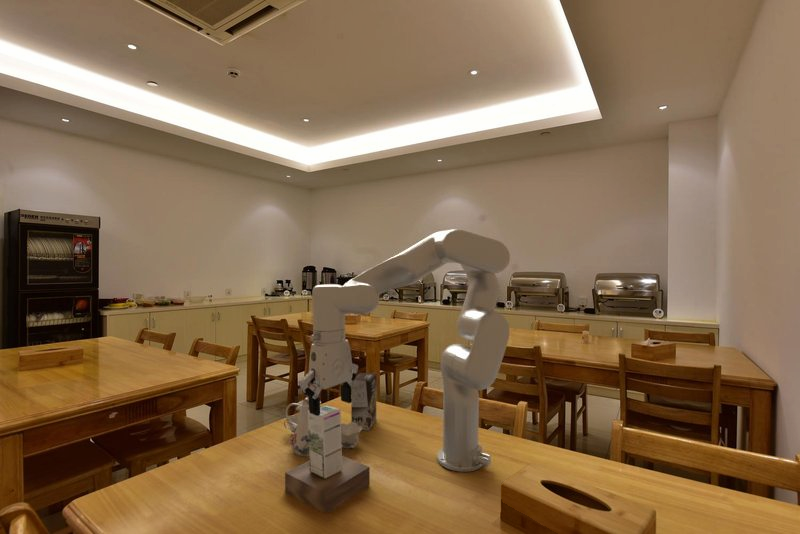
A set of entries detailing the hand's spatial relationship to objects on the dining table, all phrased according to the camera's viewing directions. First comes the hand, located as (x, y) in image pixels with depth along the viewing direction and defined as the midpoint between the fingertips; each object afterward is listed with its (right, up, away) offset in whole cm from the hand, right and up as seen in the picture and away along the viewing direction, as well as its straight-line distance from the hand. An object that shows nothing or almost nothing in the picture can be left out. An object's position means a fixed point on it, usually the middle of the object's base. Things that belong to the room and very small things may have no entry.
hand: (331, 407), depth 95 cm
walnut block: (-1, -20, 0) cm, 20 cm away
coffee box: (+5, -19, +37) cm, 42 cm away
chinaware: (-8, -19, +23) cm, 31 cm away
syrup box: (-1, -15, -1) cm, 15 cm away
